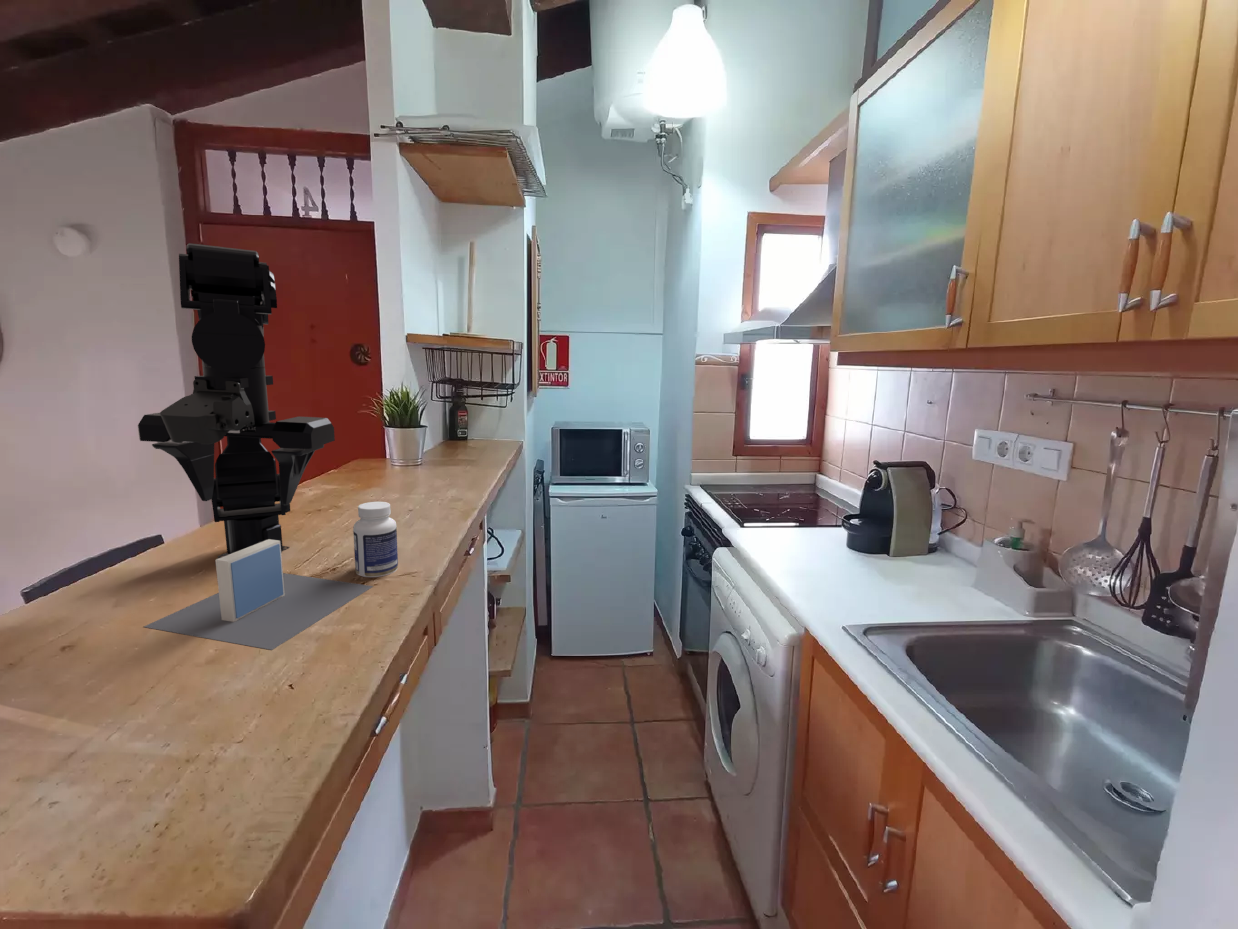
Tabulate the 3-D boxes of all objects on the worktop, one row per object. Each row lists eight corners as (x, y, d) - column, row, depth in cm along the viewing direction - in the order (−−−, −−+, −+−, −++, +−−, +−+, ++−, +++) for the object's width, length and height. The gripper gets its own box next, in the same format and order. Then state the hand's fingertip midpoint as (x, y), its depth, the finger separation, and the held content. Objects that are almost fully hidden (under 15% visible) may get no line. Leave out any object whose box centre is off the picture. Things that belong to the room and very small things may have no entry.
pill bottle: (406, 569, 78) (404, 503, 76) (378, 584, 73) (375, 513, 71) (375, 563, 80) (373, 497, 78) (346, 576, 75) (342, 507, 73)
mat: (143, 631, 59) (143, 626, 59) (267, 574, 74) (267, 570, 74) (272, 655, 56) (271, 649, 55) (373, 590, 71) (373, 586, 71)
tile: (221, 619, 61) (215, 559, 59) (273, 593, 67) (268, 539, 66) (235, 622, 60) (229, 561, 59) (285, 595, 67) (281, 540, 66)
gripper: (80, 364, 53) (103, 519, 56) (275, 375, 53) (287, 528, 57) (171, 361, 64) (186, 491, 67) (333, 370, 64) (340, 499, 68)
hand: (247, 502), depth 64 cm, fingers open, 9 cm apart
